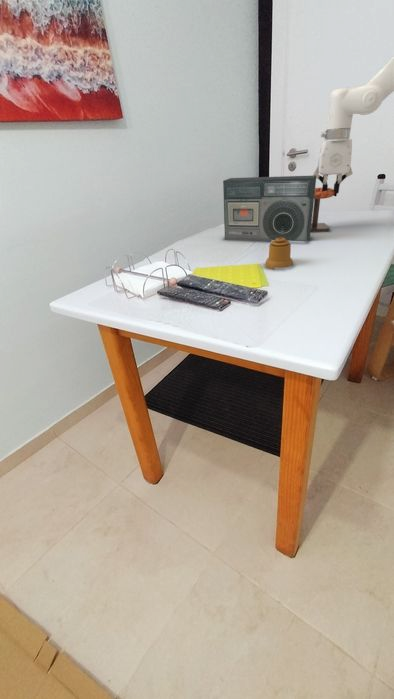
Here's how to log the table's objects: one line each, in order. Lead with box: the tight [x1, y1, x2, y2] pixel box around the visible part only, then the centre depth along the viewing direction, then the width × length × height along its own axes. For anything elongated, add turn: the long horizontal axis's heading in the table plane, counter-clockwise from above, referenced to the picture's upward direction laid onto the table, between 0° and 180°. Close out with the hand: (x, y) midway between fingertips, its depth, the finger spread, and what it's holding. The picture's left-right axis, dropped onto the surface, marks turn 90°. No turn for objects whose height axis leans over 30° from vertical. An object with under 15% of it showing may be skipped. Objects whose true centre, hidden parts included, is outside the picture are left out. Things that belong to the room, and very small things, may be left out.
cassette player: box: [222, 175, 317, 243], centre depth 115 cm, size 29×7×20 cm, turn 65°
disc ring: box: [314, 187, 335, 200], centre depth 121 cm, size 11×11×2 cm
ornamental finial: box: [265, 238, 294, 270], centre depth 94 cm, size 8×8×8 cm
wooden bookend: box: [311, 199, 330, 233], centre depth 124 cm, size 9×9×12 cm
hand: (329, 195), depth 120 cm, fingers closed on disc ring, 2 cm apart
